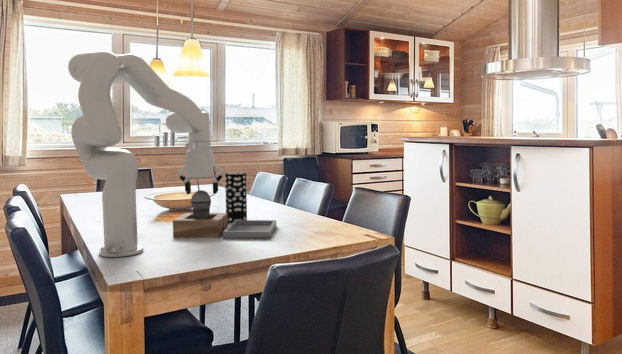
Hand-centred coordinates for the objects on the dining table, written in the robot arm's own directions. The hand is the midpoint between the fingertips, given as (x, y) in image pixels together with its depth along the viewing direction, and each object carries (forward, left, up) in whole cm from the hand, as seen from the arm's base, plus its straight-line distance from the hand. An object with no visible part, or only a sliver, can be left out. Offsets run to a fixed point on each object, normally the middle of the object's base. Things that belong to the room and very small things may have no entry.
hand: (201, 193), depth 180 cm
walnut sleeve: (-1, 0, -14) cm, 14 cm away
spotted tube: (+19, -9, -15) cm, 26 cm away
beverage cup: (-1, 0, -15) cm, 15 cm away
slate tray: (0, -18, -14) cm, 23 cm away
